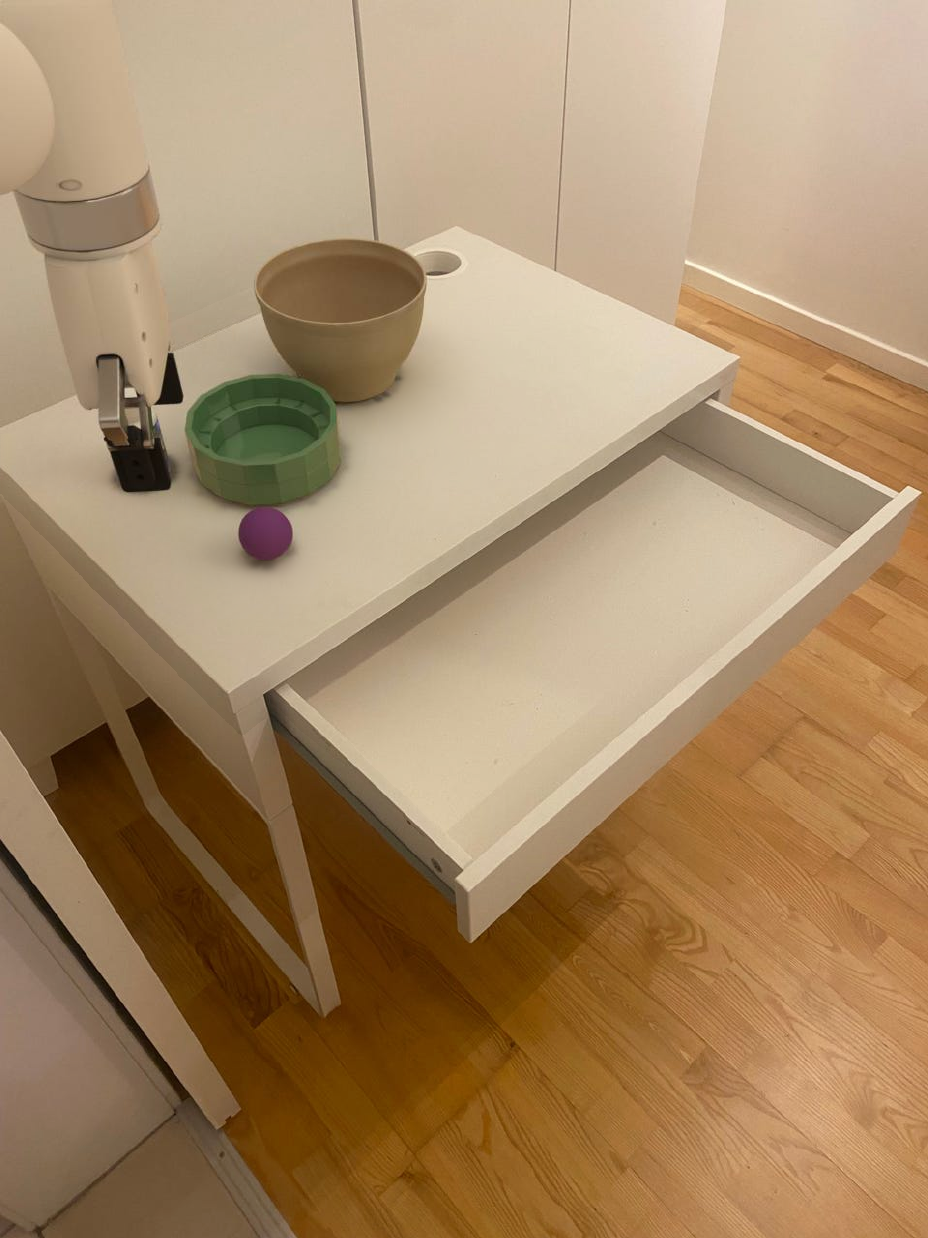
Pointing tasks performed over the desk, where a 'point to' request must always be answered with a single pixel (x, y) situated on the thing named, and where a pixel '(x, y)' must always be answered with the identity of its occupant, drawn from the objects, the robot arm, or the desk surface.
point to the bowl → (264, 438)
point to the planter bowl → (343, 312)
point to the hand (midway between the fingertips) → (155, 443)
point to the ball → (265, 533)
